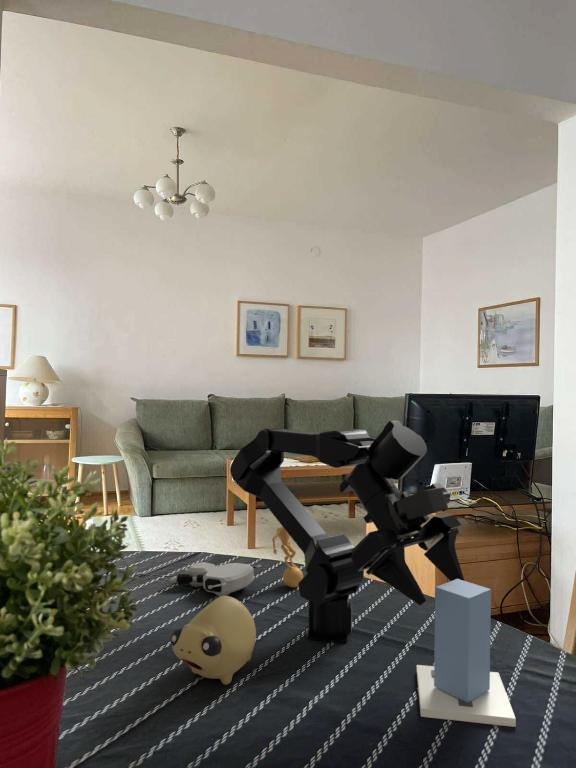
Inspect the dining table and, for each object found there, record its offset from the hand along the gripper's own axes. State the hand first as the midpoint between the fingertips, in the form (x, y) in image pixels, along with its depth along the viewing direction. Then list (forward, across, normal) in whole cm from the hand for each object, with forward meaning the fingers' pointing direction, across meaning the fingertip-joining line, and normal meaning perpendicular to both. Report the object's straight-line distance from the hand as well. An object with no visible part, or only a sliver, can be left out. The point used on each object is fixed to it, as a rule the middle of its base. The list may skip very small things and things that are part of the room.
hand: (443, 595), depth 77 cm
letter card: (+11, 0, +7) cm, 13 cm away
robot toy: (-26, -3, +45) cm, 52 cm away
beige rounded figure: (-6, -22, +24) cm, 33 cm away
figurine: (-20, +9, +39) cm, 45 cm away
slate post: (+10, 0, +6) cm, 12 cm away
